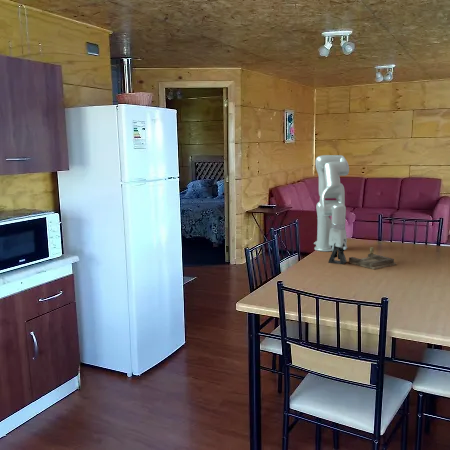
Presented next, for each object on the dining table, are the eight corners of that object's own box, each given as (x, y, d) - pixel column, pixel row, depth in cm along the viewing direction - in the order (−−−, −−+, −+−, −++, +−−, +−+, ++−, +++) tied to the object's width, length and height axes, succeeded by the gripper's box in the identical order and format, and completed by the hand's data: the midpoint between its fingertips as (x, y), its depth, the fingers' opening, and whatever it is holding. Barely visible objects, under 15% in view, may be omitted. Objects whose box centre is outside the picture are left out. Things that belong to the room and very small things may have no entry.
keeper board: (348, 262, 269) (349, 250, 268) (370, 258, 279) (371, 246, 277) (373, 269, 254) (374, 256, 253) (396, 264, 263) (396, 252, 262)
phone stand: (346, 262, 271) (347, 241, 269) (343, 264, 265) (344, 243, 263) (331, 260, 275) (331, 240, 273) (328, 262, 270) (328, 242, 268)
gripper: (323, 225, 272) (322, 256, 275) (344, 229, 258) (343, 262, 261) (332, 223, 276) (332, 254, 279) (354, 227, 262) (353, 260, 265)
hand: (337, 257), depth 270 cm, fingers closed on phone stand, 3 cm apart
